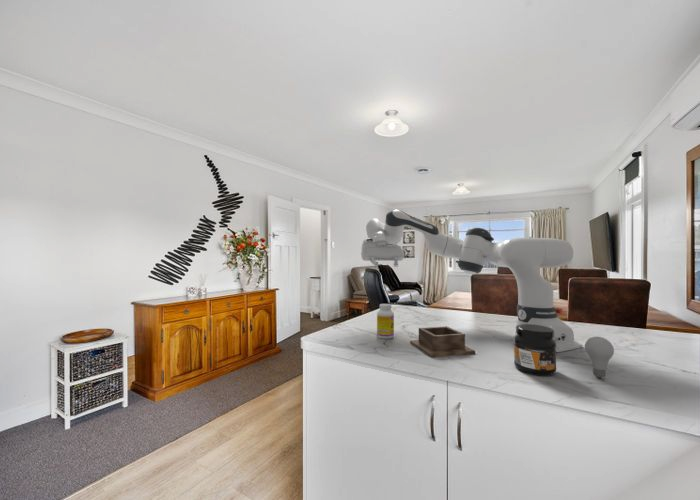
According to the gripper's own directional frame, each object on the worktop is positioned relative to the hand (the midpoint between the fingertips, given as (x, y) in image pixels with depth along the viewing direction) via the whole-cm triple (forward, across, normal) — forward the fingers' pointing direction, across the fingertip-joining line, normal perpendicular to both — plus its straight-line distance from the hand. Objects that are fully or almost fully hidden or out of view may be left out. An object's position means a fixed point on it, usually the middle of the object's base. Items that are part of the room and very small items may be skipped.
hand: (386, 265), depth 140 cm
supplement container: (+60, -24, +21) cm, 68 cm away
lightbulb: (+66, -36, +28) cm, 81 cm away
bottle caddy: (+43, -8, +4) cm, 44 cm away
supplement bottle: (+31, +6, -8) cm, 32 cm away
